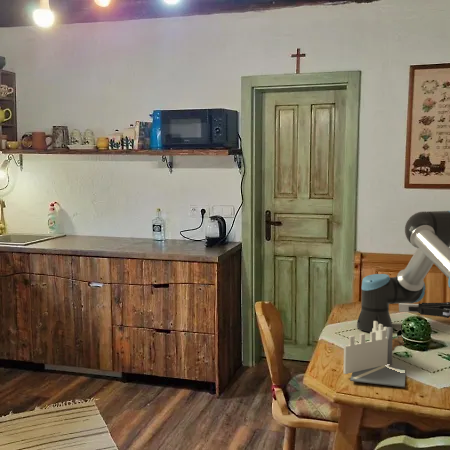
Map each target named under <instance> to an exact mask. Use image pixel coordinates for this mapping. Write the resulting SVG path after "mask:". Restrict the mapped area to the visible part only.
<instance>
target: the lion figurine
mask: <svg viewBox="0 0 450 450" xmlns="http://www.w3.org/2000/svg"><path fill="white" fill-rule="evenodd" d="M402 336H403V335H397V337H394V338H393V340H392V351H394V349H395V348H396V347H400V346H401V347H402V346H405V345H404V341H403V338H404V337H403V338H402Z"/></svg>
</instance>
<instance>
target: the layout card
mask: <svg viewBox="0 0 450 450" xmlns="http://www.w3.org/2000/svg"><path fill="white" fill-rule="evenodd" d="M349 380H350V382H357V383H364V384H365V383H367V384H375V385H384V386H389V387H390V386H391V387H392V386H393V387H400V388H405V387H406V373H400V372H397V371H395V370H392V369H389V368H387V367H386V366H385V365H383V366H379V367H374V368H370V369H366V370H361V371H357V372H352V373H351V375H350V379H349Z"/></svg>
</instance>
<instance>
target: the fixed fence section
mask: <svg viewBox="0 0 450 450" xmlns="http://www.w3.org/2000/svg"><path fill="white" fill-rule="evenodd" d="M380 330H386V338H388V355H387V364H392V365H393V350H392V340H393V339H394V338H393V337H394V336H393V333H394V331H393V330H394V328H393V326H392V327H384V329H383V325H382V324H378V322H377V321H374V322H373V328H372V332H376V339H380Z"/></svg>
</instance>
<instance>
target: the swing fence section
mask: <svg viewBox="0 0 450 450" xmlns="http://www.w3.org/2000/svg"><path fill="white" fill-rule="evenodd" d="M355 337H356V336H355V335H349V336H348V345H347V344H346V345H344V346H343V375H346V374H352V372H357V371H361V370H366V369H370V368H374V367H379V366H383V365H387V355H388V338H386V330H380V339H376V332H369V340H367V341H366V334H365V333H359V336H358V337H359V342H358V343H357V342H356V343H355Z"/></svg>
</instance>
